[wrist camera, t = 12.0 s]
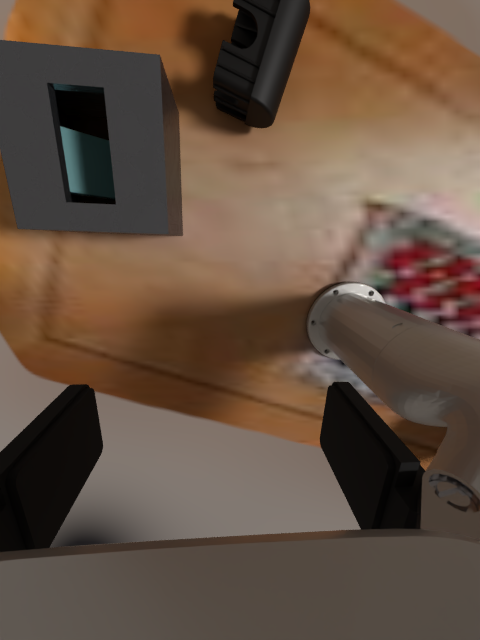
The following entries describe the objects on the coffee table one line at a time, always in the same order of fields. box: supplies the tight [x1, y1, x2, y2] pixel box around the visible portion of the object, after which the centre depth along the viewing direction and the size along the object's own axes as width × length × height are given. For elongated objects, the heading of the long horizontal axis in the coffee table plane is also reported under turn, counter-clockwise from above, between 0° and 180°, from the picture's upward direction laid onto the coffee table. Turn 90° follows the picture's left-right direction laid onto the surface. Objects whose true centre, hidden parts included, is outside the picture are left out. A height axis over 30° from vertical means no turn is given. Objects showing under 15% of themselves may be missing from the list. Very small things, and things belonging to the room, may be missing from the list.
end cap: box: [213, 0, 310, 128], centre depth 27 cm, size 10×7×7 cm
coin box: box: [0, 40, 183, 236], centre depth 27 cm, size 14×14×10 cm
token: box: [60, 126, 115, 200], centre depth 29 cm, size 2×6×6 cm
